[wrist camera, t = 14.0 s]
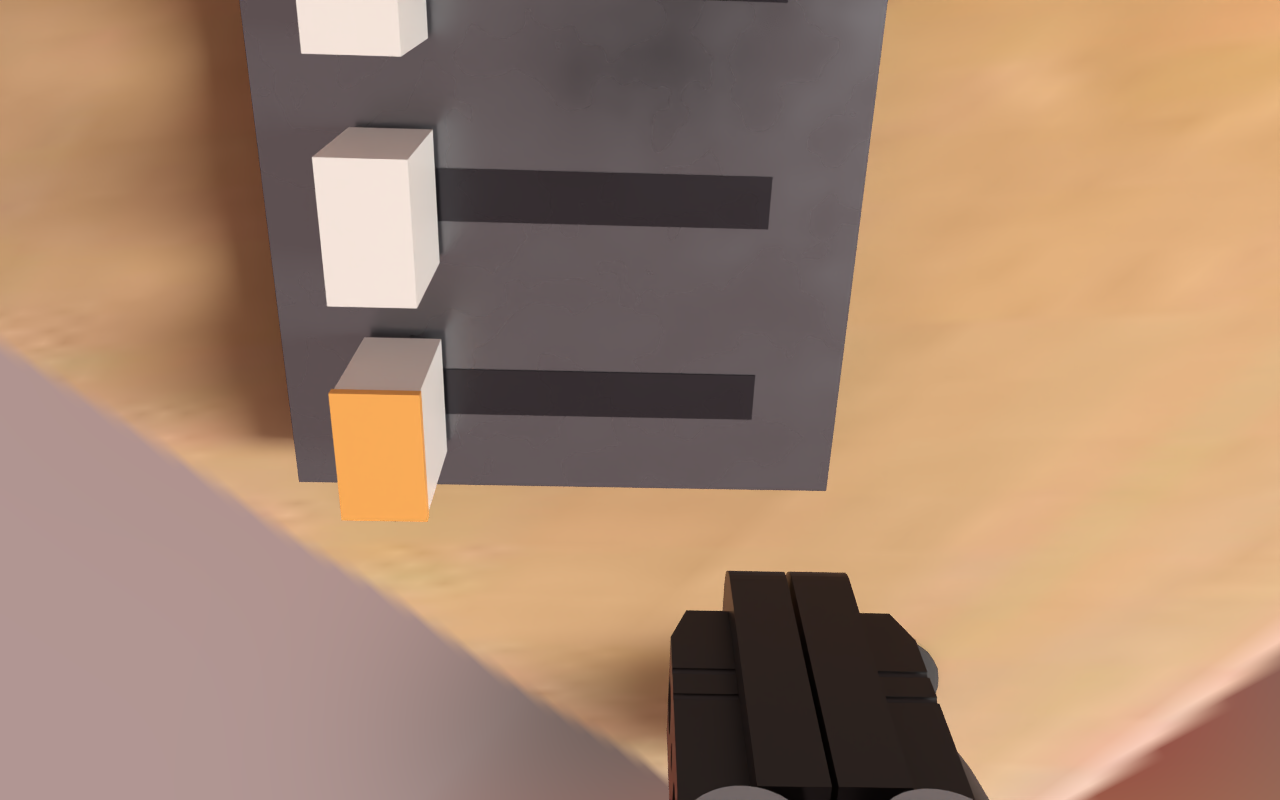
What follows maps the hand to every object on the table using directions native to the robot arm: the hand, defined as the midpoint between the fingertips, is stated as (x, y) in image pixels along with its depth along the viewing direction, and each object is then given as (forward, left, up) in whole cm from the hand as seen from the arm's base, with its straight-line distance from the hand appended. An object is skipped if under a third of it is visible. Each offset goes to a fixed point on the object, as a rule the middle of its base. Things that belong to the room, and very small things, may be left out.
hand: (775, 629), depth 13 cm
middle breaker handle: (+9, 0, -20) cm, 22 cm away
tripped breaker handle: (+9, +6, -20) cm, 22 cm away
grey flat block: (+4, 0, -23) cm, 23 cm away
